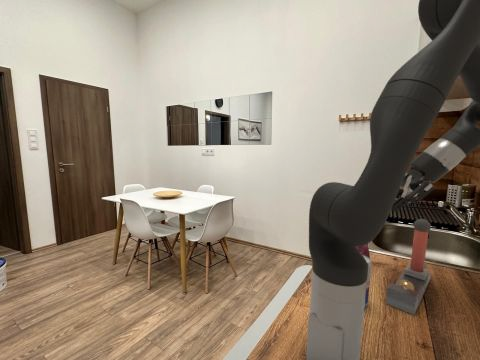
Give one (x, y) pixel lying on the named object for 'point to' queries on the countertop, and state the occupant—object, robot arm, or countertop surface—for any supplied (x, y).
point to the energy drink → (368, 279)
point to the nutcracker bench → (417, 288)
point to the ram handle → (419, 250)
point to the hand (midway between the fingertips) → (385, 203)
